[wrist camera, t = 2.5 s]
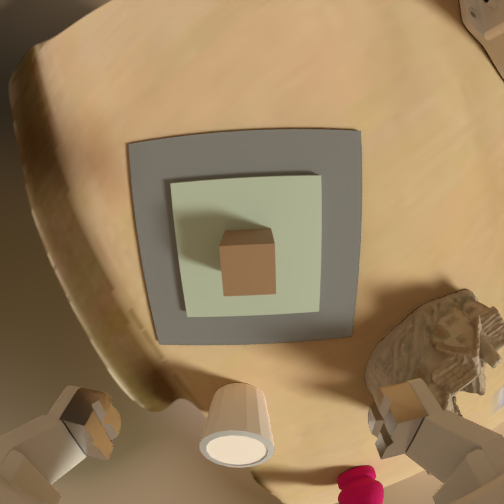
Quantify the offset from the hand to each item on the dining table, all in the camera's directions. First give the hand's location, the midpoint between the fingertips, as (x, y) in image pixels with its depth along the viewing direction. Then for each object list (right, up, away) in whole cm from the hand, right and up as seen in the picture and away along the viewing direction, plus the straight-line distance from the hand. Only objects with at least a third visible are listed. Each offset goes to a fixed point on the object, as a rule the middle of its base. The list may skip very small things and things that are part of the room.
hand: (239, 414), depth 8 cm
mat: (0, +5, +16) cm, 17 cm away
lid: (0, +5, +15) cm, 16 cm away
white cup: (-1, -11, +21) cm, 24 cm away
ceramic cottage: (+20, -8, +20) cm, 30 cm away
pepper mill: (+17, -31, +28) cm, 45 cm away
